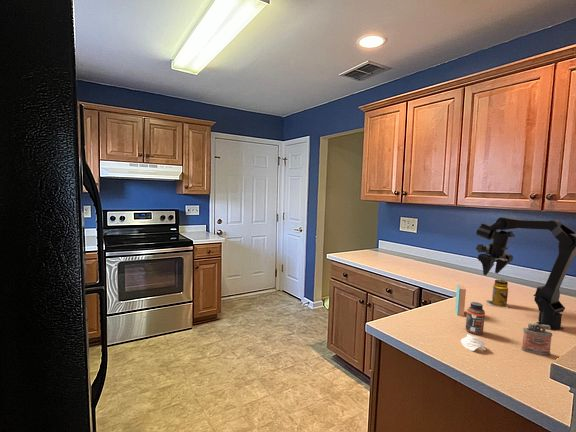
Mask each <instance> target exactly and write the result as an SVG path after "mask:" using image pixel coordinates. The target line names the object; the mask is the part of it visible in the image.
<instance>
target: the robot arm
mask: <svg viewBox="0 0 576 432" xmlns="http://www.w3.org/2000/svg"><path fill="white" fill-rule="evenodd" d="M517 229H518V230H519V229H527V230H528V229H529V230H548V231H549V232H551V234H552V235H553V237H554V238H555V239H556V240H558V246H557V249H558V255H557V257H556V259H555V261H554V264H553V267H552V268H551V271H550V273H549V275H548V278H547V280H546V282H545V285H542V286H537V288H536V289H535V294H533V295H532V296H533V297H534V300H533V301H534V302H535V304H536V305H537V308H538V311H539V313H538V321H536V322H535V323H538V324H539V325H541V324H542V325H549V326H550V330H551V331H554V330H556V331H557V330H563V329H564V327H563V326H561V325H562V318H563V314H562V313H563V312H564V311H565V309H566V307H565V306H564V305H563V304H562V303H561V301H560V297H561V293H560V288H561V286H562V283H563V281H564V279H565V278H566V274H567V273H568V271H569V269H570V266H571V263H572V262H573V259H574V257H576V232H575V231H574V230H573V229H572V228H569V227H568V226H566V225H565V224H564V223H562V221H560V220H554V219H553V220H538V219H537V220H535V219H532V220H531V219H530V220H529V219H521V218H520V219H519V218H515V217H512V216H511V217H508V216H507V217H505V216H504V217H498V218H497V219H496V221H495V222H494V223H493V224H492V225H489V224H487V223H481V224H480V226H479V227H478V228H477V230H476V236H477V237H480V238H483V239H486V240H489V241H491V240H492V243H489V244H488V245H484V244H479V243H478V244H477V245H476V247H475V250H476V251H477V253H480V254H478V255H477V257H476V260H478V261H479V262H480V263H481V265H482V266H481V267H482V274H483V276H487V274H489V272H490V271H491V269H492V268H493V267H494V266H495V269H494V273H495V274H499V273H500V272H501V271H502V270H503V269H505V268H506V267H507V265H508V264H509V263H511V262H513V260H514V256H513V255H512V254H510V253H508V252H506V251H507V250H508V249H509V246H507V245H508V242H509V240H510V238H515V237H516V234H514V233H513V231H512V230H517ZM507 230H509V231H507ZM495 262H496V264H495ZM550 330H549V331H550Z"/></svg>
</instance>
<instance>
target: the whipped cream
mask: <svg viewBox="0 0 576 432" xmlns="http://www.w3.org/2000/svg"><path fill="white" fill-rule="evenodd" d="M460 343H461V345H462V346H463V348H465V349H466V350H469V351H471V352H475V351H476V350H477V349H479V348H480V349H482V350H484V351H486V349H487V348H485V347H484V346H485V341H484V340H483V339H481V338H480V337H478V336H475V335H474V334H471V333H467V334H466V336H464V338H461V339H460Z"/></svg>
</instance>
